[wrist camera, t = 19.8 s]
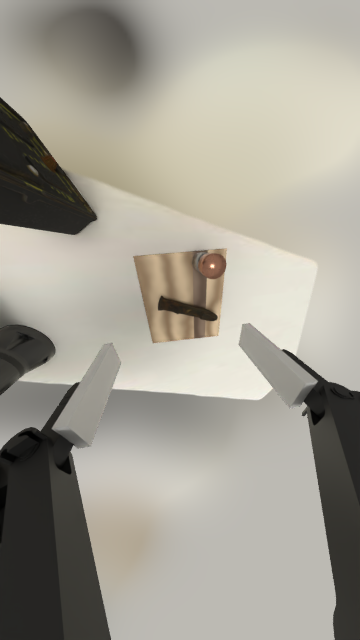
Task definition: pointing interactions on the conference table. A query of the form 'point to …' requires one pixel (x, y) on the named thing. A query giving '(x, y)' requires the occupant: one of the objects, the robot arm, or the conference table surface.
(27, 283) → the conference table surface
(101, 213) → the conference table surface
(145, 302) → the plywood sheet
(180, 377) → the conference table surface
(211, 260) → the copper and grey cylinder
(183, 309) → the hand tool
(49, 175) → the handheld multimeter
